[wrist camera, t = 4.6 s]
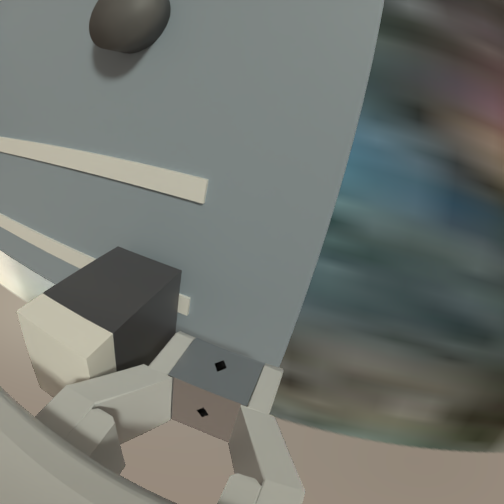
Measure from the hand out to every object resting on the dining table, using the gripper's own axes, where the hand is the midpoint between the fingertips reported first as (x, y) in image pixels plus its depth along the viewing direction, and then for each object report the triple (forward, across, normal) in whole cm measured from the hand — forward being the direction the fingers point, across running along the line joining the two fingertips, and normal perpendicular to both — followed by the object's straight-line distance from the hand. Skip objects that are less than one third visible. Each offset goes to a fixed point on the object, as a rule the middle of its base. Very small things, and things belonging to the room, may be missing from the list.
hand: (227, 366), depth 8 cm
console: (+4, +11, -5) cm, 12 cm away
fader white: (+2, +4, 0) cm, 4 cm away
